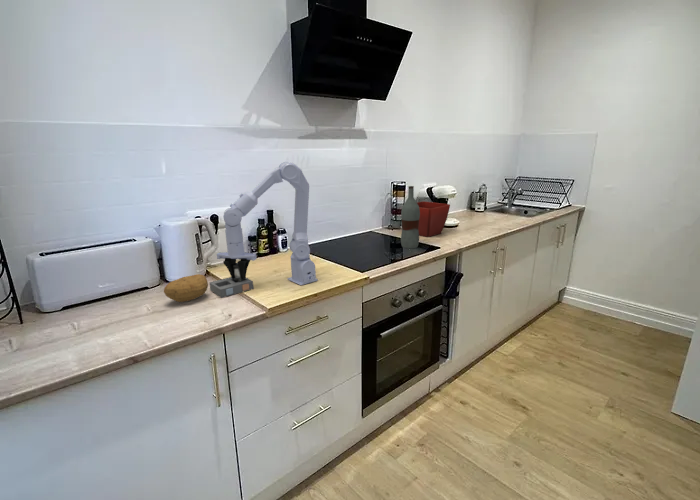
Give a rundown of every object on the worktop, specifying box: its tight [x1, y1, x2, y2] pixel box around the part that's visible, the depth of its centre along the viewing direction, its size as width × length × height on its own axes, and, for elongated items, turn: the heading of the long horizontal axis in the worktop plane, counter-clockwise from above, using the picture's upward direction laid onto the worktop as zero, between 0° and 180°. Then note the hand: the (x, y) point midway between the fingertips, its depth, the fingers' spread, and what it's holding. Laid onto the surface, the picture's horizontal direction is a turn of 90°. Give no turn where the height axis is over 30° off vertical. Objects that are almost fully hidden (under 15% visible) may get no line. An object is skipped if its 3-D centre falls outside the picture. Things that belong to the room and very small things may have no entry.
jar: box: [232, 262, 244, 283], centre depth 135 cm, size 3×3×7 cm
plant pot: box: [416, 201, 451, 238], centre depth 212 cm, size 19×19×17 cm
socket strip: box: [208, 276, 254, 299], centre depth 134 cm, size 10×12×3 cm
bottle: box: [400, 185, 420, 250], centre depth 184 cm, size 9×9×30 cm
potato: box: [163, 273, 209, 303], centre depth 125 cm, size 10×14×8 cm
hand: (238, 278), depth 136 cm, fingers closed on jar, 3 cm apart
